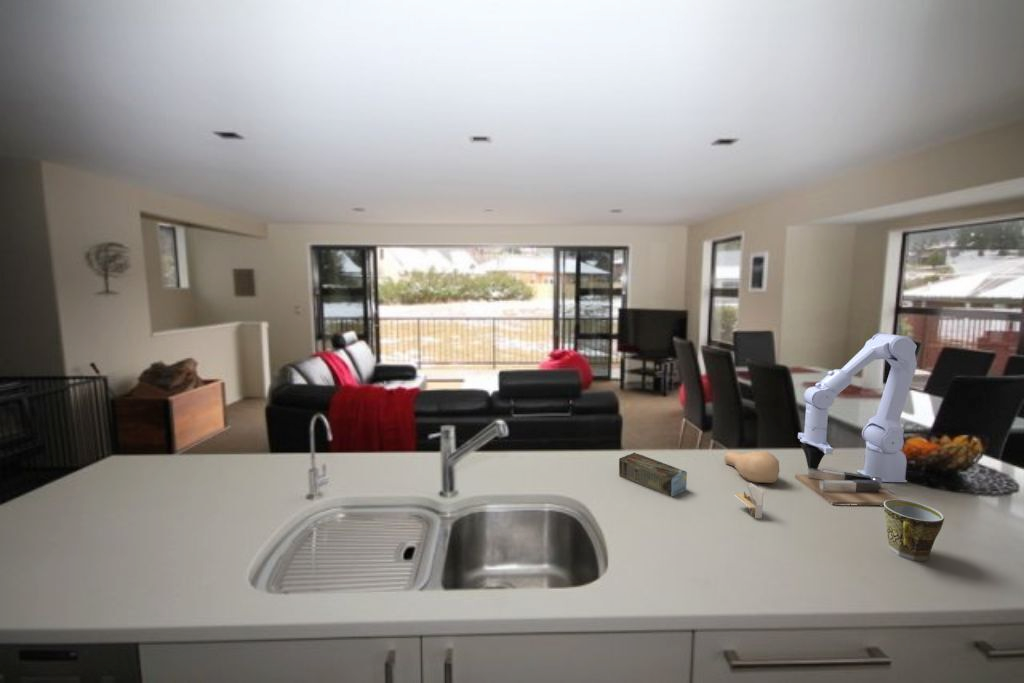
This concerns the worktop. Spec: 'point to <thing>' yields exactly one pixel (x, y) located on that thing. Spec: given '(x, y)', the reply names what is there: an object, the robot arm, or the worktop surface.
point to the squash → (755, 465)
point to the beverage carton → (653, 474)
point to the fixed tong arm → (849, 486)
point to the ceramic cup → (911, 528)
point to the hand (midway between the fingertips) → (812, 468)
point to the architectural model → (753, 500)
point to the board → (847, 494)
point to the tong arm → (839, 476)
